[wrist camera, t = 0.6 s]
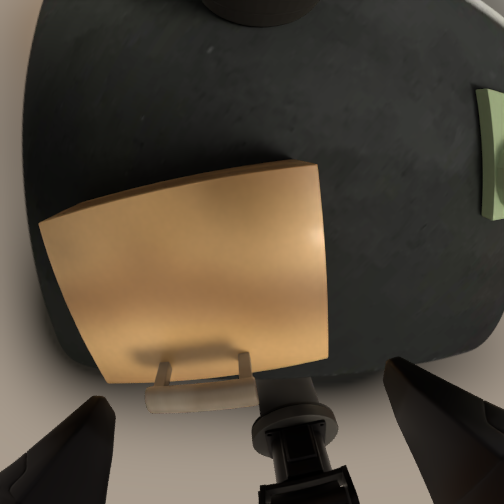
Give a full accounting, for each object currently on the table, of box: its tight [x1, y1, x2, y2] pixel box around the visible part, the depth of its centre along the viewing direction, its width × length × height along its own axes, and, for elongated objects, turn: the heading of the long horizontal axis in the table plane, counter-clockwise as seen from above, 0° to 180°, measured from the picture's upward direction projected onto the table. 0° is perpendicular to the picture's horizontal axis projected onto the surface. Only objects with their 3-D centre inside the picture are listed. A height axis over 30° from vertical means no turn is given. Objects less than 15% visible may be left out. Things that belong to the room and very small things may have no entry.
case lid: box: [39, 163, 328, 414], centre depth 14 cm, size 12×15×5 cm
